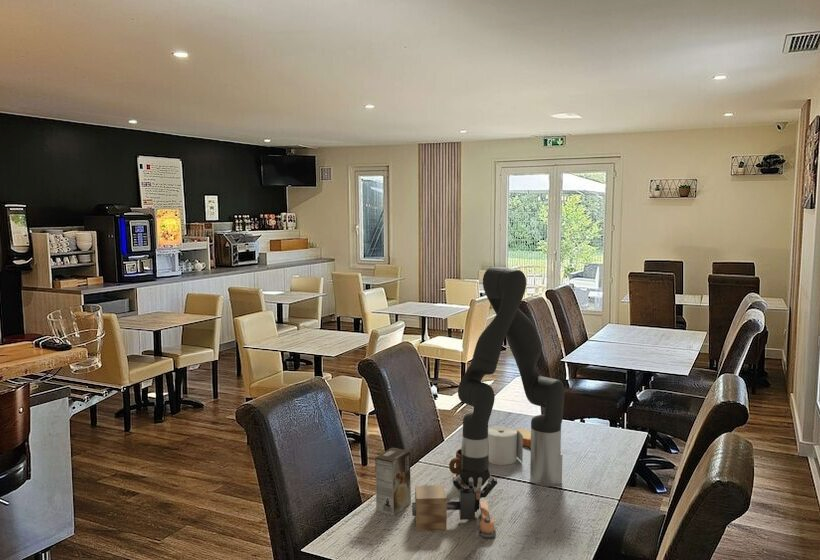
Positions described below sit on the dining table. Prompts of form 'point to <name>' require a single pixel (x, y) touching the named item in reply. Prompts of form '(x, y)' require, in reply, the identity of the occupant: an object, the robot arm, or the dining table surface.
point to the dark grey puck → (487, 535)
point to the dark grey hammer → (460, 504)
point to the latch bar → (486, 519)
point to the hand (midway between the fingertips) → (474, 510)
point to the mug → (458, 464)
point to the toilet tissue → (504, 445)
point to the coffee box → (393, 481)
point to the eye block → (431, 507)
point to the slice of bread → (526, 437)
